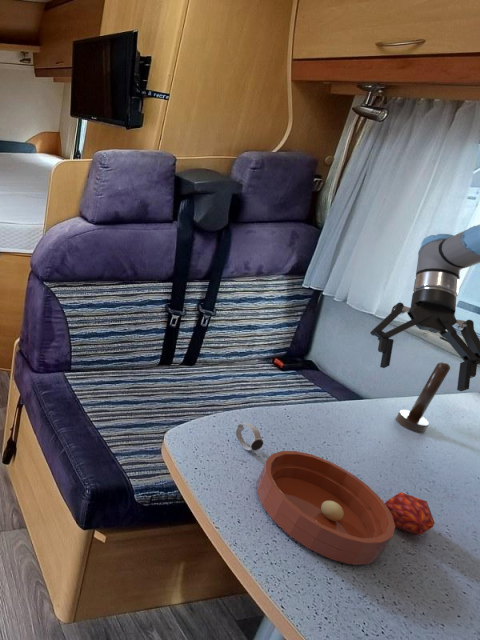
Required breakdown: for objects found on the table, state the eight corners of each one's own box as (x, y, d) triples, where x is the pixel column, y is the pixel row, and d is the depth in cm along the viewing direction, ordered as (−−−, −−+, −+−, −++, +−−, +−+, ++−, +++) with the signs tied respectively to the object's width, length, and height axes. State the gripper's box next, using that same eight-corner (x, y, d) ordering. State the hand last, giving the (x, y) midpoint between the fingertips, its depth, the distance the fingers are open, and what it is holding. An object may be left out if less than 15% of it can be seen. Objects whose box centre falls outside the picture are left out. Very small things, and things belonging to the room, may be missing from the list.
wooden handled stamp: (421, 422, 104) (457, 361, 98) (427, 436, 100) (465, 373, 94) (393, 413, 106) (426, 353, 100) (398, 426, 102) (433, 364, 96)
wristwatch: (247, 456, 90) (255, 436, 88) (229, 437, 95) (236, 418, 93) (259, 455, 91) (268, 435, 89) (241, 436, 95) (249, 417, 93)
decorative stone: (412, 531, 80) (436, 554, 73) (367, 507, 83) (386, 527, 75) (430, 500, 79) (456, 520, 72) (384, 476, 82) (405, 493, 75)
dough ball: (332, 494, 77) (316, 503, 78) (348, 512, 75) (331, 521, 76) (332, 500, 79) (316, 508, 80) (348, 517, 77) (331, 526, 77)
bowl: (369, 504, 82) (382, 481, 80) (390, 590, 68) (407, 566, 66) (256, 458, 90) (265, 436, 88) (254, 526, 76) (265, 502, 74)
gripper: (495, 317, 108) (487, 403, 102) (363, 285, 119) (348, 361, 113) (517, 305, 102) (510, 396, 95) (376, 273, 113) (361, 353, 107)
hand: (422, 377), depth 104 cm, fingers open, 13 cm apart
